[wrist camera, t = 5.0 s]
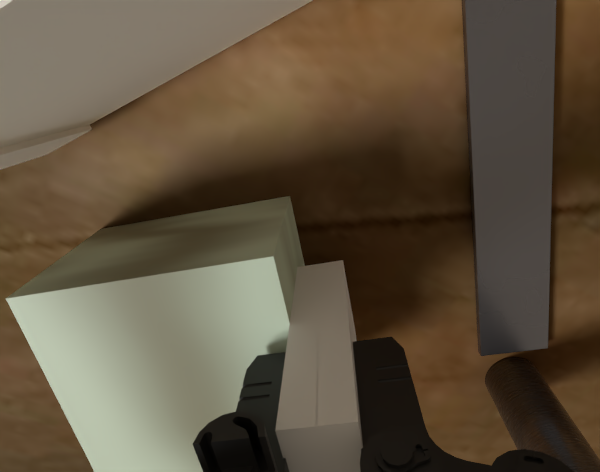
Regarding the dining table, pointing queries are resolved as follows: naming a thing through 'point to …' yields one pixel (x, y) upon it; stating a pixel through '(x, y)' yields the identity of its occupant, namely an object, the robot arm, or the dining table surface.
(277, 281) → the pale green block
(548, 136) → the gate frame
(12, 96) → the gate
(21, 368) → the dining table surface
